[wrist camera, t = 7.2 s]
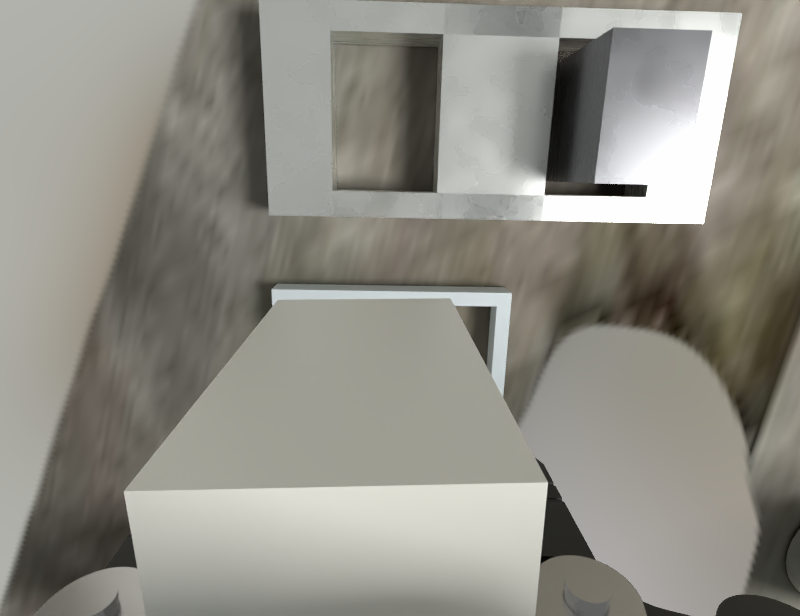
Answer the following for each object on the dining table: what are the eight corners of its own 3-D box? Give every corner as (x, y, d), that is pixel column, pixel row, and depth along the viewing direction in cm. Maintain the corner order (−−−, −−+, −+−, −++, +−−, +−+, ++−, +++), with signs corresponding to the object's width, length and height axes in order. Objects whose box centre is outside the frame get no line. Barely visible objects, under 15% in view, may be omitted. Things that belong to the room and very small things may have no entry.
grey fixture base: (709, 28, 26) (822, -24, 19) (676, 219, 28) (766, 233, 22) (270, 14, 25) (227, -45, 18) (279, 211, 28) (244, 223, 21)
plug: (450, 298, 11) (547, 482, 5) (444, 515, 13) (509, 883, 6) (277, 299, 11) (123, 492, 5) (293, 519, 13) (196, 899, 6)
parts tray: (505, 287, 29) (511, 293, 28) (489, 484, 33) (494, 498, 31) (277, 283, 29) (271, 289, 27) (286, 483, 33) (281, 497, 31)
